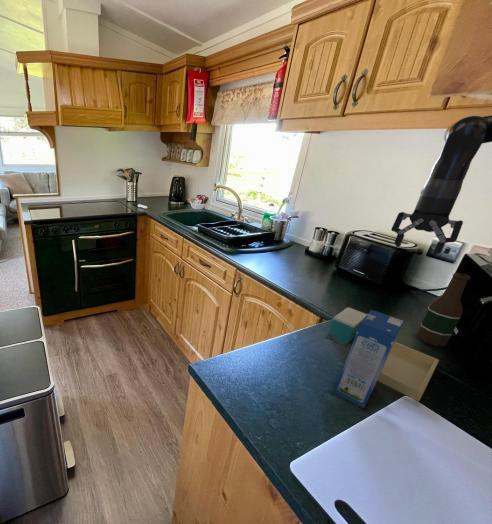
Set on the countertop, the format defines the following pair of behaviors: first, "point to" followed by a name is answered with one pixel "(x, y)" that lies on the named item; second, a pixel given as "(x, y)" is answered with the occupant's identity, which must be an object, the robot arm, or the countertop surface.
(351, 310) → the white and teal box
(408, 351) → the crate
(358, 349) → the milk carton
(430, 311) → the beer bottle
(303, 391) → the countertop surface
